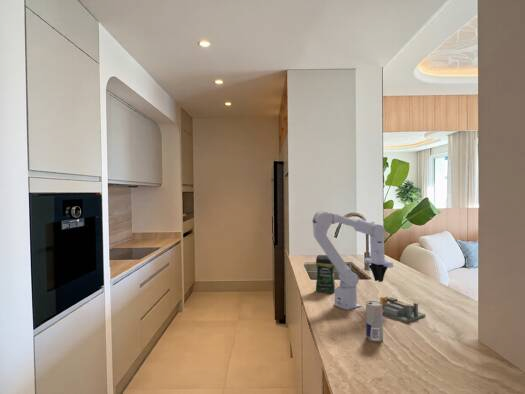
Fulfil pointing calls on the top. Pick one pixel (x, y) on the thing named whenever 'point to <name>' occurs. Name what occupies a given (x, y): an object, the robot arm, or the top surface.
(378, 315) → the energy drink
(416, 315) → the clamp board
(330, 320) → the top surface
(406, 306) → the clamp bar
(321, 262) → the coffee jar
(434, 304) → the top surface
